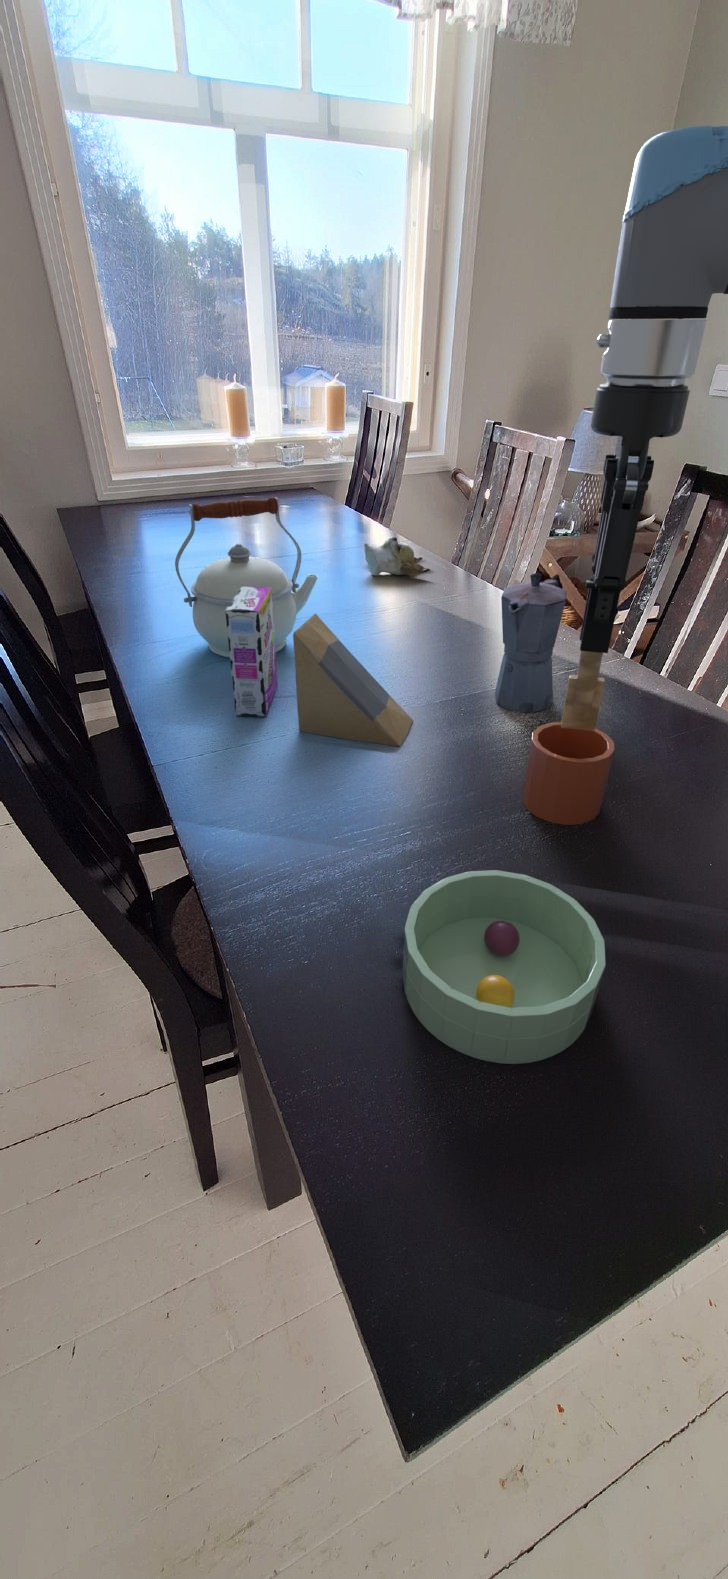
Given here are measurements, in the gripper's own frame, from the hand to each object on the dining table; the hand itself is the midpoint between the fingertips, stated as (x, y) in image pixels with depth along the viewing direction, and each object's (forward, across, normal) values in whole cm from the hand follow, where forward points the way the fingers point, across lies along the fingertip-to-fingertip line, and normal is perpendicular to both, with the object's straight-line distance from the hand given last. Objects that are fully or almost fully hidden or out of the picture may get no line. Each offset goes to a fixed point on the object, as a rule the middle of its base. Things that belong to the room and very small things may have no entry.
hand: (593, 644), depth 71 cm
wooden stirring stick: (+10, 0, 0) cm, 10 cm away
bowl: (+21, +28, -5) cm, 36 cm away
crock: (+21, 0, 0) cm, 21 cm away
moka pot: (+22, -30, -6) cm, 37 cm away
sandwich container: (+21, -15, -29) cm, 39 cm away
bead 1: (+19, +25, -5) cm, 32 cm away
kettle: (+21, -41, -55) cm, 72 cm away
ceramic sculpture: (+21, -89, -39) cm, 100 cm away
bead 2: (+19, +31, -5) cm, 37 cm away
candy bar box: (+21, -19, -46) cm, 54 cm away
